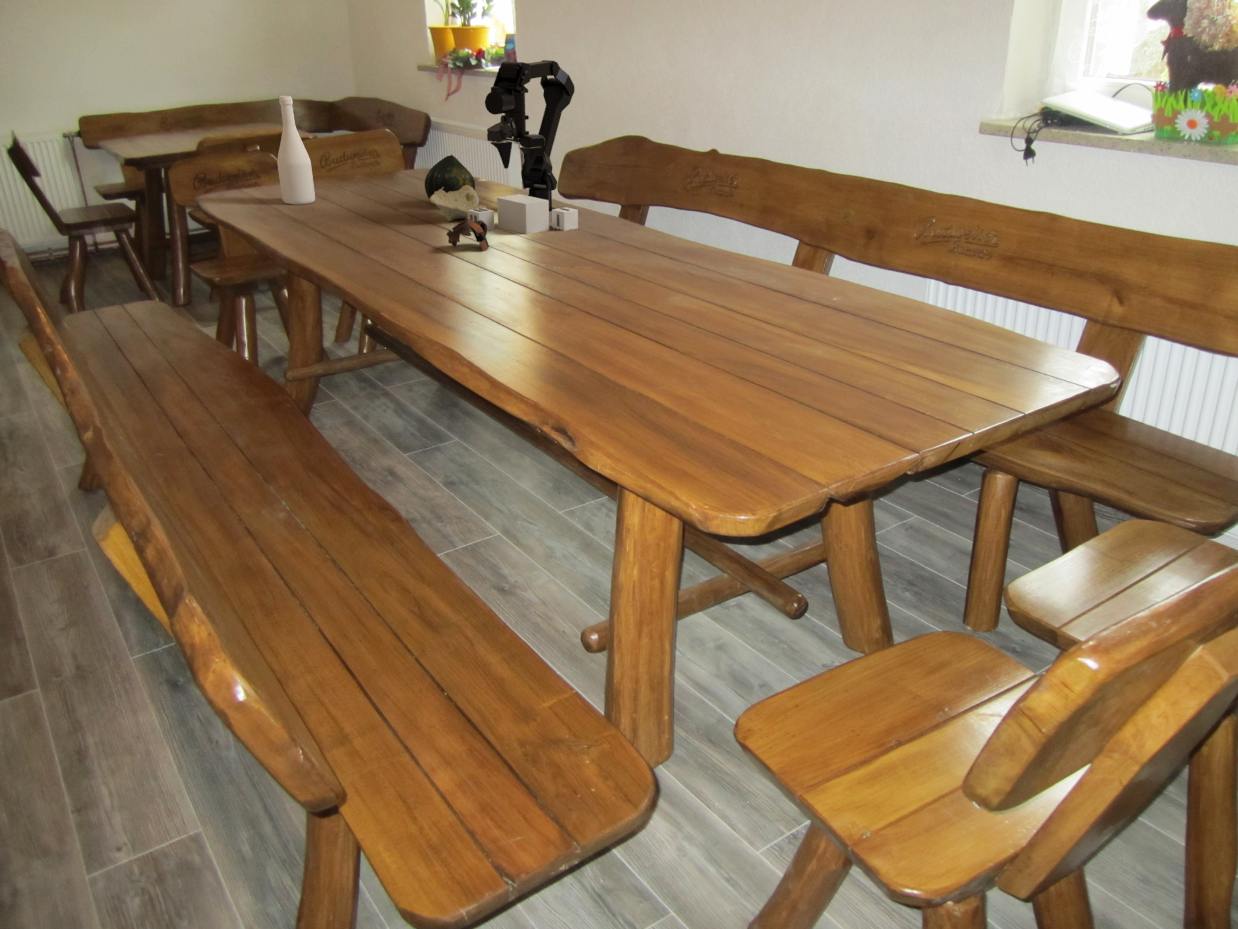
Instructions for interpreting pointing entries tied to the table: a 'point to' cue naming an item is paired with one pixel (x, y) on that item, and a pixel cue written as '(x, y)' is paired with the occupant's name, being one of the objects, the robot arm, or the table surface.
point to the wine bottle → (293, 161)
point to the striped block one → (565, 218)
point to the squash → (448, 176)
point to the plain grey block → (523, 213)
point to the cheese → (456, 202)
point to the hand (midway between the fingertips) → (516, 170)
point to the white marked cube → (482, 216)
